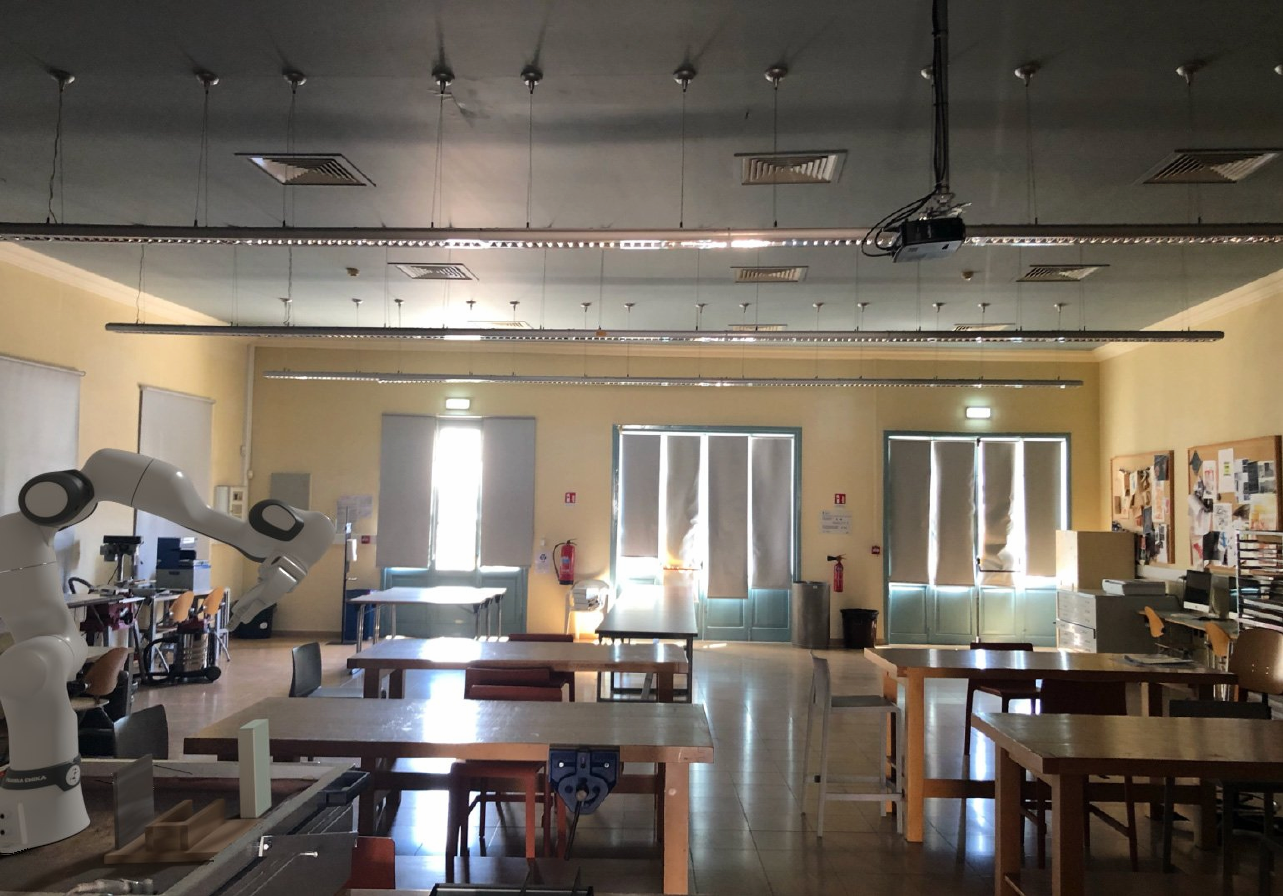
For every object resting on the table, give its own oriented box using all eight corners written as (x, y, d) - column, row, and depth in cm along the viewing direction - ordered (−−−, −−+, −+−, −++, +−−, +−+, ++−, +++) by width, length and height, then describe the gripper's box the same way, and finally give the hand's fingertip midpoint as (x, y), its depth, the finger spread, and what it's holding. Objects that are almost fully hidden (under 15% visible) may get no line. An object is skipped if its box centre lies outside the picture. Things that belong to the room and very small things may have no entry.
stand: (104, 863, 147) (101, 776, 147) (154, 829, 161) (151, 750, 161) (223, 860, 146) (220, 772, 146) (263, 826, 160) (260, 746, 160)
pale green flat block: (240, 819, 164) (237, 729, 164) (257, 806, 170) (254, 719, 171) (255, 818, 164) (252, 728, 164) (271, 806, 170) (268, 718, 170)
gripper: (252, 575, 182) (207, 624, 173) (285, 554, 168) (239, 606, 159) (274, 593, 184) (231, 642, 175) (309, 573, 170) (265, 626, 161)
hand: (235, 625), depth 167 cm, fingers open, 8 cm apart
